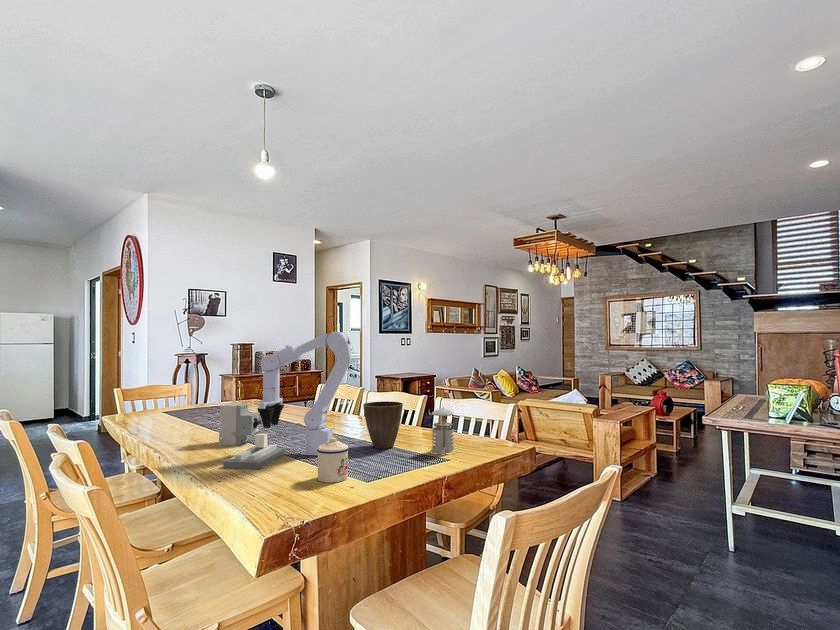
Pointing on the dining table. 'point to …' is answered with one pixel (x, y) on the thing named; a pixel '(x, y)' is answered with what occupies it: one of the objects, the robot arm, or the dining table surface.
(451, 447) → the french press
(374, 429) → the plant pot
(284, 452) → the panel
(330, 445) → the teacup with lid
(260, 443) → the lever
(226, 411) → the circuit breaker
